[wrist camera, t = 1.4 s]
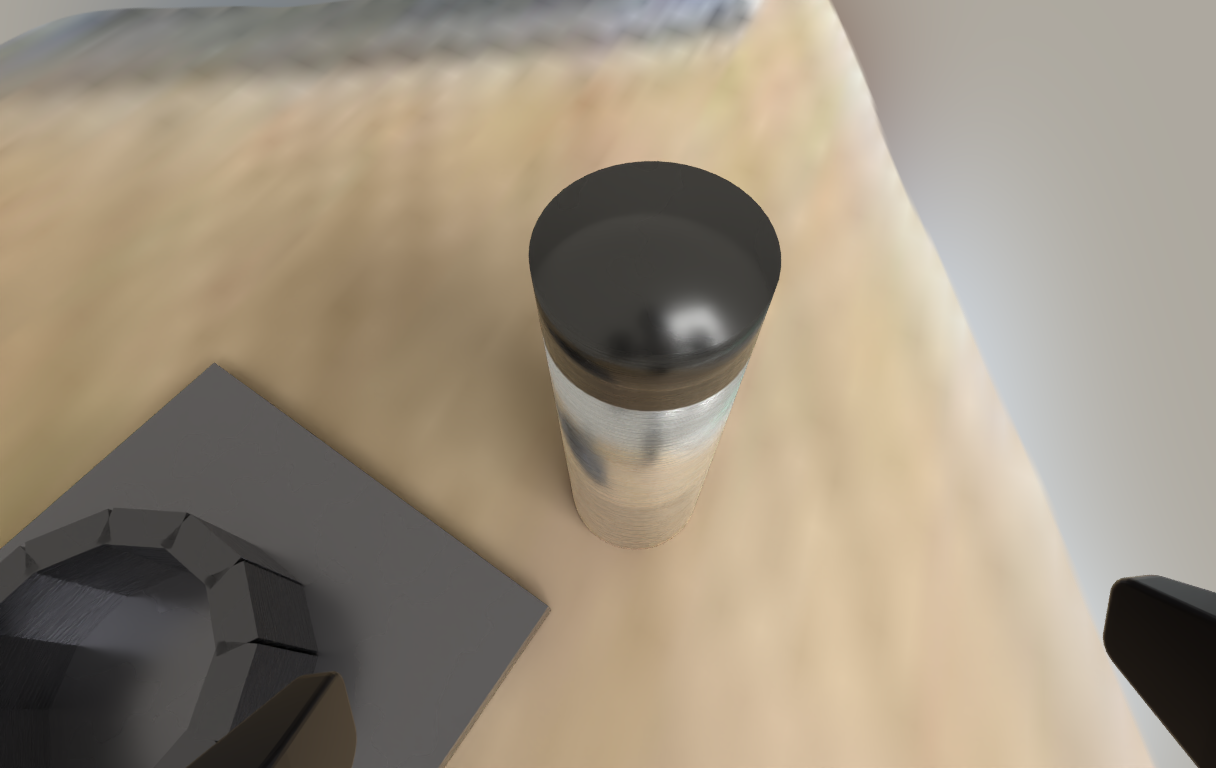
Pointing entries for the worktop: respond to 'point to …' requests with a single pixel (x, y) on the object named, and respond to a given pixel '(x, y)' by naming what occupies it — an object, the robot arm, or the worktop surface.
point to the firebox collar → (241, 599)
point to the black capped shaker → (648, 334)
